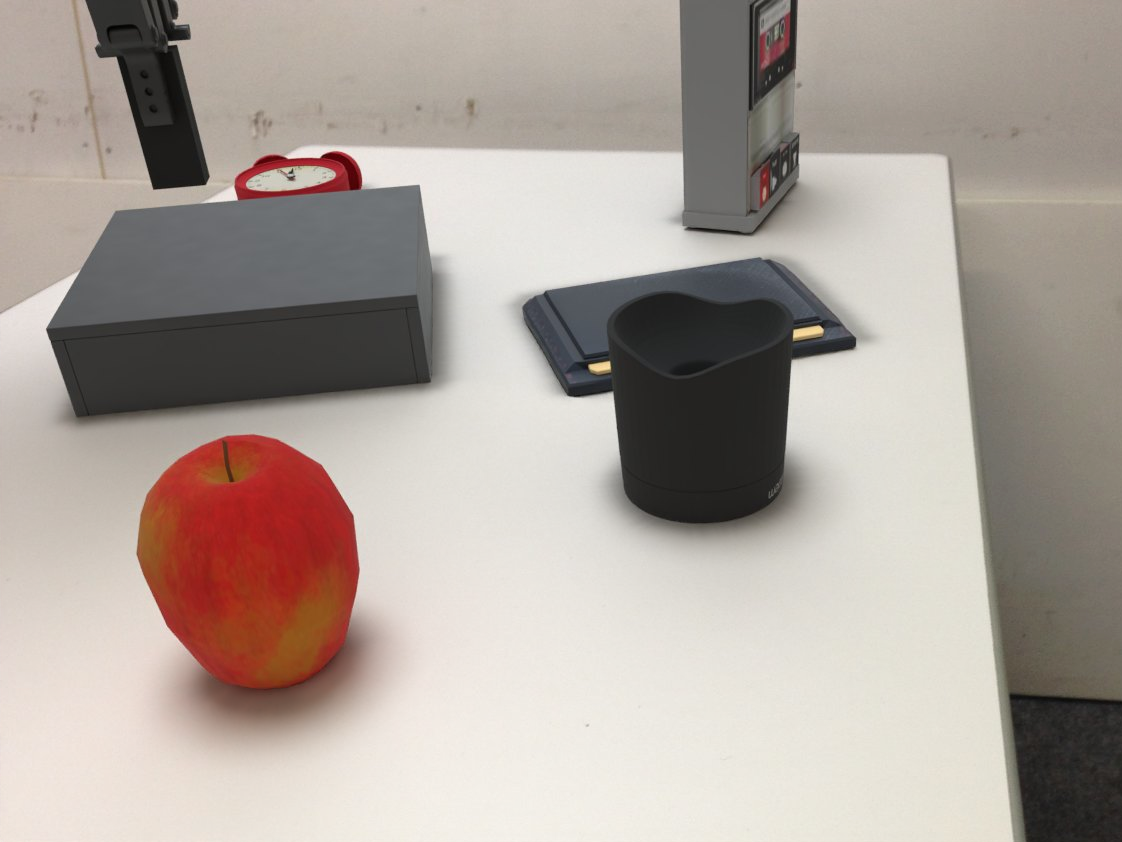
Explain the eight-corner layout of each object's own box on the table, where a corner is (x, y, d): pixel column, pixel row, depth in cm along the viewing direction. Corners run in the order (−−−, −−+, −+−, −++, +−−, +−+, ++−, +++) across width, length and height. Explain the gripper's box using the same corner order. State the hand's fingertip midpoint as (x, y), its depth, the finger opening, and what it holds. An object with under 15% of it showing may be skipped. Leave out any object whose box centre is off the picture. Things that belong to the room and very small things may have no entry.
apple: (205, 618, 63) (136, 396, 56) (389, 603, 63) (343, 381, 56) (163, 744, 56) (77, 507, 48) (371, 726, 56) (316, 489, 49)
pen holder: (678, 559, 65) (673, 380, 59) (586, 484, 72) (572, 315, 66) (824, 502, 69) (832, 328, 63) (723, 435, 76) (722, 271, 69)
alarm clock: (210, 208, 101) (240, 112, 111) (232, 276, 106) (260, 178, 116) (341, 201, 101) (360, 106, 111) (358, 269, 106) (375, 172, 116)
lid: (78, 425, 80) (45, 328, 76) (140, 295, 97) (115, 210, 93) (432, 390, 82) (416, 294, 78) (432, 268, 98) (419, 184, 94)
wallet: (782, 244, 94) (862, 324, 82) (782, 269, 95) (860, 351, 84) (515, 282, 91) (559, 371, 79) (518, 307, 92) (561, 399, 80)
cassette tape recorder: (755, 236, 101) (759, -130, 86) (682, 229, 103) (674, -130, 88) (801, 180, 111) (812, -156, 96) (734, 175, 113) (735, -155, 98)
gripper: (89, -407, 48) (239, 217, 62) (150, -392, 58) (266, 141, 73) (-117, -396, 48) (81, 232, 62) (-19, -382, 58) (132, 153, 72)
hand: (181, 182), depth 67 cm, fingers closed
